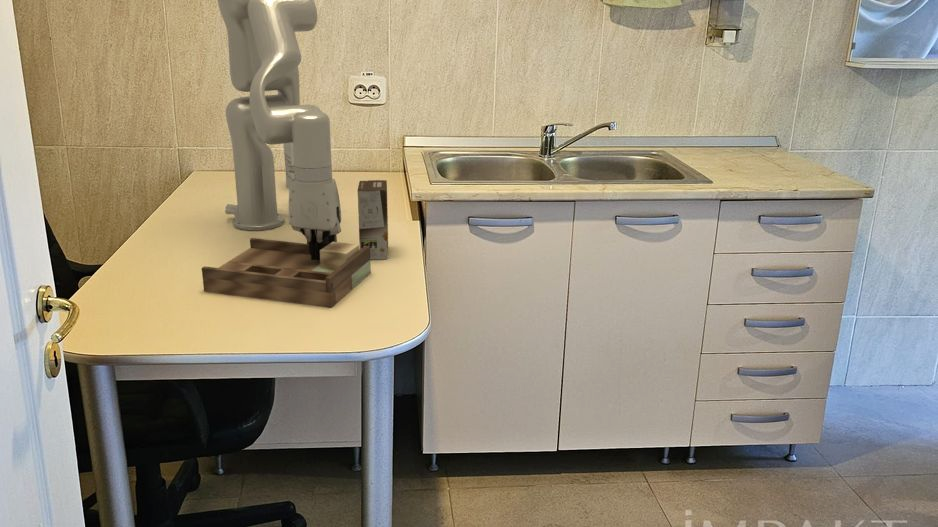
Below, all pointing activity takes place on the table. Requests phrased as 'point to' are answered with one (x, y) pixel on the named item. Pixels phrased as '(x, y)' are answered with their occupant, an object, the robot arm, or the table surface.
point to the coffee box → (373, 217)
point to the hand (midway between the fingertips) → (317, 258)
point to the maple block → (336, 254)
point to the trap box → (286, 274)
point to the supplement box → (288, 162)
